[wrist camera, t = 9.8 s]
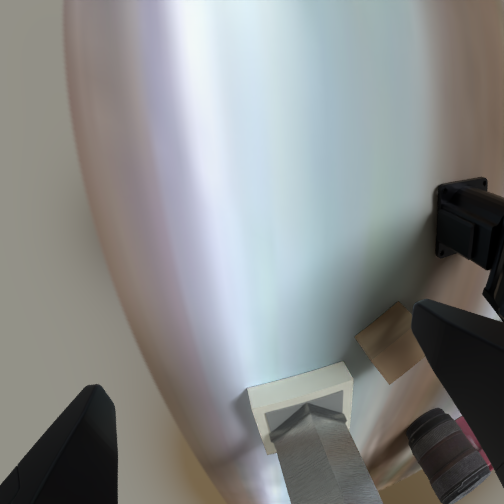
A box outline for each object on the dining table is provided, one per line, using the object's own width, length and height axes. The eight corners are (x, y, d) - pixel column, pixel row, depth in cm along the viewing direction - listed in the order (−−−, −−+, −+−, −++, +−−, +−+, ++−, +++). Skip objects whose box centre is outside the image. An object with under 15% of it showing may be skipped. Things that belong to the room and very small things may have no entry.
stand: (342, 361, 26) (354, 380, 24) (341, 414, 30) (349, 431, 28) (247, 388, 26) (251, 410, 23) (262, 437, 29) (267, 456, 27)
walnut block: (397, 300, 25) (418, 321, 22) (412, 329, 27) (431, 350, 24) (353, 335, 26) (370, 360, 22) (373, 361, 27) (389, 384, 24)
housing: (306, 402, 24) (352, 518, 13) (343, 413, 26) (390, 511, 15) (268, 433, 25) (298, 542, 14) (307, 442, 27) (341, 536, 16)
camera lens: (448, 413, 37) (492, 475, 24) (408, 442, 38) (446, 508, 25) (441, 397, 34) (494, 469, 20) (396, 431, 35) (440, 508, 21)
